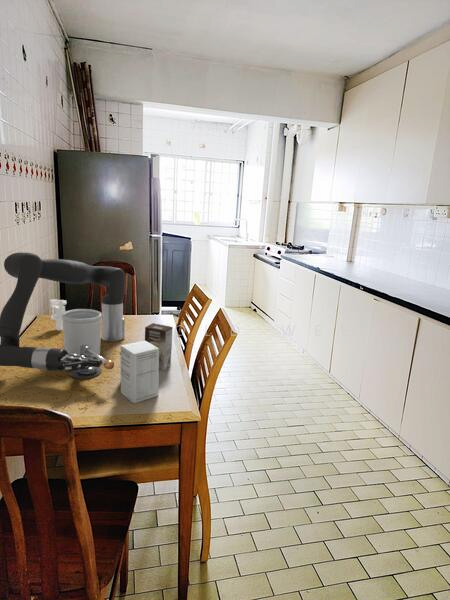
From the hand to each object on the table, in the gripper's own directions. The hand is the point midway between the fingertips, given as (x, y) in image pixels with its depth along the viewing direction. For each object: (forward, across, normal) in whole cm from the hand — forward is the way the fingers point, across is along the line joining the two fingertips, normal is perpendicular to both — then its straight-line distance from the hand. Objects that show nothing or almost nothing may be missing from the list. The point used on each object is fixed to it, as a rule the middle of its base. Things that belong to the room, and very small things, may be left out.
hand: (100, 363), depth 130 cm
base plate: (-9, -10, -8) cm, 16 cm away
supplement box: (+14, +3, -9) cm, 17 cm away
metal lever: (-3, -5, -8) cm, 10 cm away
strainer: (-41, -55, -9) cm, 69 cm away
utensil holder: (-17, -26, -9) cm, 33 cm away
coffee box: (+15, -22, -9) cm, 28 cm away
